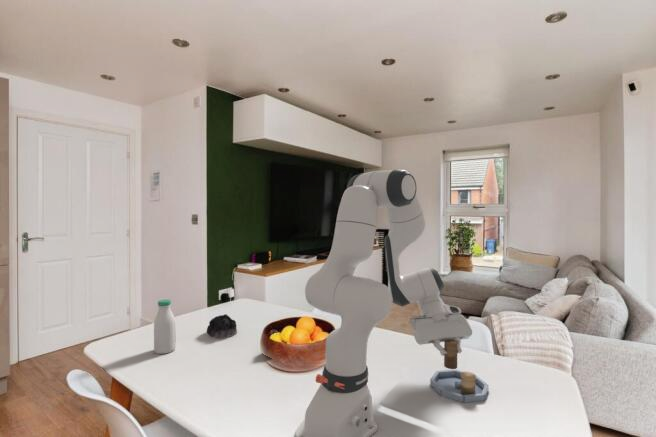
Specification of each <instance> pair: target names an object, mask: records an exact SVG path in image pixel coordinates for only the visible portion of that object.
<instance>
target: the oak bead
mask: <svg viewBox="0 0 656 437" xmlns="http://www.w3.org/2000/svg"><path fill="white" fill-rule="evenodd" d="M476 376H477V375H476V374H475V373H473V372H470V371H463V372H462V373H461V394H462V395H470V394H475V386H476Z"/></svg>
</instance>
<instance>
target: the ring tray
mask: <svg viewBox="0 0 656 437" xmlns="http://www.w3.org/2000/svg"><path fill="white" fill-rule="evenodd" d="M462 372H464V371H463V370H458V369H445V370H436V371H435V372H434V374H433V375H432V376H431V377H430V380H429V381H430V382H429V384H430V386H431V387H432V388H433V389H434V391H436V392H437V393H438V394H439V395H440V396H441V397H445V398H446V399H447V398H448V399H450V400H454V401H457V402H460V403H473V402H483V401H485V400H486V398H487V396H488V392H489V384H488V383H487V382H485V381H484V380H482V379H481V378H480V377H479V376H478V375H476V386H475V394H470V395H462V394H461V373H462Z"/></svg>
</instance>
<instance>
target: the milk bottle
mask: <svg viewBox="0 0 656 437" xmlns="http://www.w3.org/2000/svg"><path fill="white" fill-rule="evenodd" d="M171 305H172V301H171V299H161V300H158V301H157V308H158V310H157V313H156V316H155V318H154V321H153V351H154V353H155V354H156V355H157V354H158V355H164V354H165V355H166V354H169V353H172V352H174V351H175V349H176V346H177V344H176V343H177V342H176V318H175V315H174V313H173V311H172V309H171Z"/></svg>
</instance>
